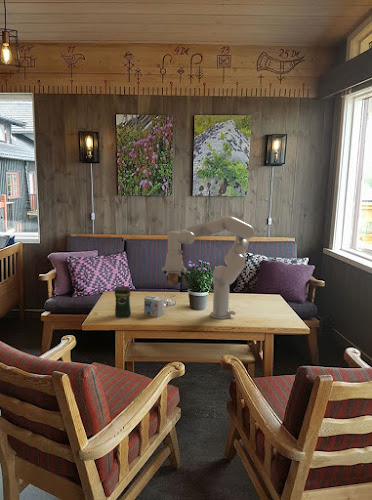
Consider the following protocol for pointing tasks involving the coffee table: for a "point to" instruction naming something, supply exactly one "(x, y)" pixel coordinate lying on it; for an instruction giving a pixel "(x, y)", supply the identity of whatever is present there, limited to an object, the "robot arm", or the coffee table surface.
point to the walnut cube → (173, 278)
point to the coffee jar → (122, 301)
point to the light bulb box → (154, 306)
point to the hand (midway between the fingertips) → (173, 281)
